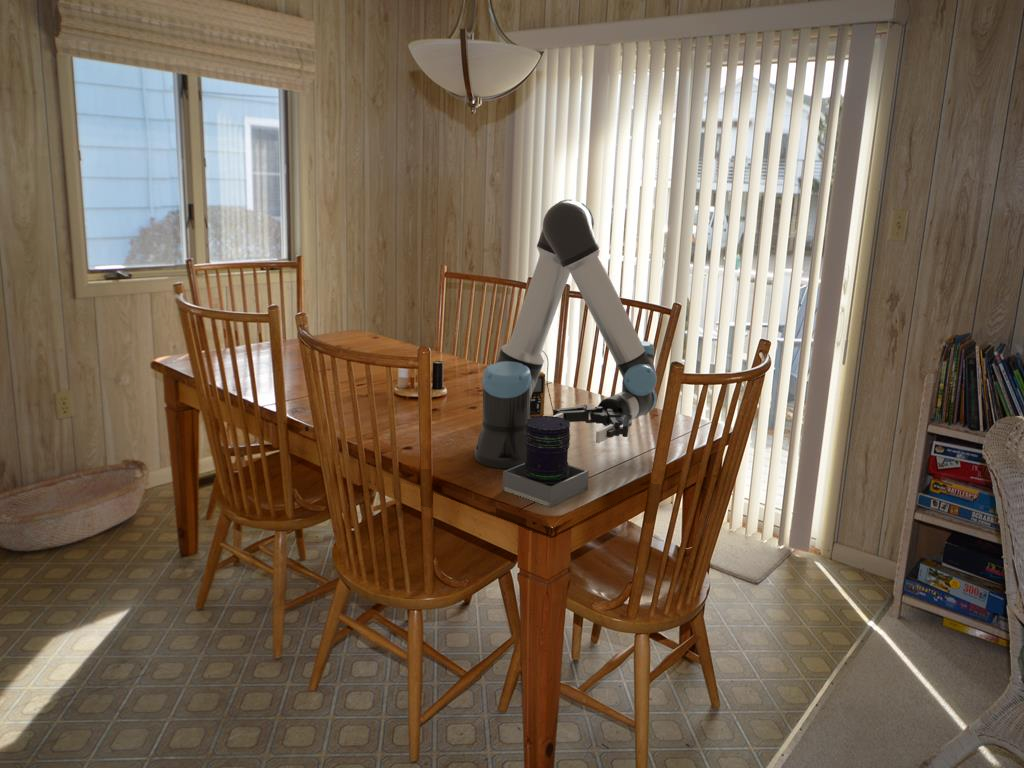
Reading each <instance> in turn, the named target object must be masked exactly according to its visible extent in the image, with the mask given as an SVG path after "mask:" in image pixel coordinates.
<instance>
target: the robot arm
mask: <svg viewBox="0 0 1024 768" xmlns="http://www.w3.org/2000/svg"><path fill="white" fill-rule="evenodd" d="M543 217H544V218H543V222H542V229H541V233H540V235H539V239H538V242H537V244H536V248H537V251H538V253H539V258H538V260H537V263H536V266H535V267H534V268H535V269H534V272H533V274H532V277H531V280H530V281H529V285H528V288H527V292H526V293H525V296H524V300H523V303H522V305H521V309H520V310H519V314H518V317H517V320H516V323H515V325H514V328H513V331H512V334H511V336H510V337H511V338H510V340H509V342H508V343H506V344H503V345H501V348H500V351H499V353H498V356H497V359H496V362H495V363H491V364H489V365H488V366H486V367H485V368H484V370H483V373H482V374H483V375H482V380H481V381H482V382H481V383H482V417H481V418H482V419H481V421H482V426H481V427H482V428H481V431H480V433H479V437H478V439H477V443H476V445H475V448H474V459H475V460H476V461H475V462H478V463H479V464H481V465H483V466H486V467H491V468H493V469H494V468H496V469H511V468H513V467H516V466H518V465H521V464H523V463H525V461H526V453H527V447H526V444H525V441H526V438H525V433H526V427H527V426H526V421H527V420H528V419H530V418H531V417H530V399H531V396H532V393H533V390H534V389H535V387H536V384H537V379H538V377H539V374H540V372H542V371H541V370H542V367H543V365H544V362H545V360H544V358H543V355H542V351H543V349H544V346H545V344H546V339H547V337H548V335H549V331H550V329H551V326H552V323H553V320H554V318H555V315H556V313H557V309H558V308H559V307H558V306H559V304H560V302H561V299H562V296H563V294H564V290H565V288H566V285H567V282H568V279H569V278H570V277H569V276H570V275H571V277H572V278H573V280H574V283H575V285H576V287H577V288H578V291H579V293H580V295H581V297H582V299H583V301H584V303H585V304H586V306H587V308H588V310H589V311H588V312H590V314H591V316H592V319H593V320H594V322H595V324H596V326H597V328H598V330H599V332H600V334H601V336H602V338H603V341H604V342H605V344H606V346H607V348H608V350H609V352H610V354H611V356H612V357H613V360H614V362H615V364H616V366H617V369H618V371H619V373H620V375H621V377H622V381H621V382H622V386H621V392H619V393H616V394H613V395H611V396H609V397H607V398H604V399H603V400H601V401H600V402H599V403H598V405H597V406H596V407H588V405H587V404H582V405H578V406H572V407H564V408H556V409H553V410H552V416H554V417H560V418H564V419H566V420H568V421H569V422H570V423H575V422H576V423H579V422H585V423H586V424H599V425H600V424H602V426H603V425H604V427H602V428H600V429H597V430H596V431H595V443H596V444H600V443H602V442H605V440H608V439H610V438H613V437H619V436H620V435H622V436H621V437H623V438H627V437H629V428H630V427H631V426H632V423H633V422H632V421H633V420H634V419H637V418H639V417H642V416H644V415H646V414H648V413H649V412H651V411H652V410H653V409H655V407H656V406H657V402H658V395H657V392H656V390H655V388H656V386H657V381H658V374H657V372H656V368H655V363H654V362H655V361H654V360H655V356H656V355H655V346H654V344H653V343H652V342H650V341H645V340H641V339H640V338H639V336H638V333H637V331H636V329H635V327H634V326H633V325H634V324H633V323H632V322H631V319H630V317H629V315H628V313H627V311H626V309H625V307H624V305H623V303H622V301H621V297H619V294H618V293H617V291H616V288H615V287H614V285H613V283H612V280H611V278H610V276H609V274H608V273H607V270H606V268H605V266H604V264H603V262H602V260H601V258H600V255H599V254H600V251H601V248H600V246H599V244H598V241H597V240H596V236H595V234H594V225H595V223H594V222H595V221H594V220H595V219H594V216H593V213H592V211H591V210H590V209H589V208H588V206H587V205H586V204H585V203H583V202H580V201H579V200H575V199H563V200H561V201H558V202H557V203H555V204H553V205H552V206H551V207H550V208H549V209H548V210H547V211H546V213H545V215H544V216H543ZM589 418H590V419H589Z"/></svg>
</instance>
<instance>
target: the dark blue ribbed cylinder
mask: <svg viewBox="0 0 1024 768" xmlns="http://www.w3.org/2000/svg"><path fill="white" fill-rule="evenodd" d="M526 426H527V427H526V433H525V438H526V441H525V444H526V447H527V453H526V461H525V465H524V466H525V470H524V475H525V478H527V479H530V480H533V481H536V482H539V483H542V484H545V485H548V486H553V485H555V484H558V483H560V482H562V481H564V480H567V479H568V469H569V465H570V464H569V461H568V454H569V453H568V452H569V451H568V450H569V448H570V445H571V444H570V443H571V442H570V441H571V440H570V439H571V433H570V427H571V422H569V421H568V420H566V419H564V418H560V417H554V416H553V415H543V416H535V417H530V419H528V420H527V421H526Z"/></svg>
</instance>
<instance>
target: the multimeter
mask: <svg viewBox="0 0 1024 768" xmlns="http://www.w3.org/2000/svg"><path fill="white" fill-rule="evenodd" d="M541 353H543V354H545V357H546V360H547V361H546V362H547V363H549V358H548V355H547V353H546V352H545V351H544V350H542V351H541ZM548 373H549V364H547V366H546V374H545V373H544V372H543V371H540V374H539V377H538V379H537V384H536V387H535V389H534V390H533V393H532V396H531V399H530V418H533V417H538V416H545V398H546V396H545V391H546V390H545V389H546V387H547V392H548V397H549V400H550V405H551V409H552V410H551V411H553V410H554V406H553V403H552V398H551V394H550V389H549V384H548V375H549V374H548Z"/></svg>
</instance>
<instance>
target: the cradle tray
mask: <svg viewBox="0 0 1024 768" xmlns="http://www.w3.org/2000/svg"><path fill="white" fill-rule="evenodd" d="M524 465H525V463H523V464H521V465H518V466H516V467H513V468H507V469H506V470H502V491H503V492H505V493H506V492H507V493H510V494H512V493H513V495H515V496H517V495H518V497H520V496H521V497H520V498H523V497H524V498H523V499H526V498H527V499H526V500H528V499H530V500H529V501H531V500H532V501H531V502H534V501H535V503H537V502H538V504H539V503H540V505H542V504H543V506H545V505H546V507H548V508H552V507H554V505H555V506H557V505H558V504H561V503H563V502H565V501H567V500H569V499H572V498H573V497H575V496H577V495H580V494H582V493H583V492H586V491H588V489H589V487H588V486H589V470H586V469H583V468H580V467H576V466H575V465H570V464H569V469H568V479H567V480H564V481H562V482H560V483H558V484H555V485H553V486H548V485H545V484H542V483H539V482H536V481H533V480H530V479H527V478H525V475H524V470H525V466H524Z"/></svg>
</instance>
